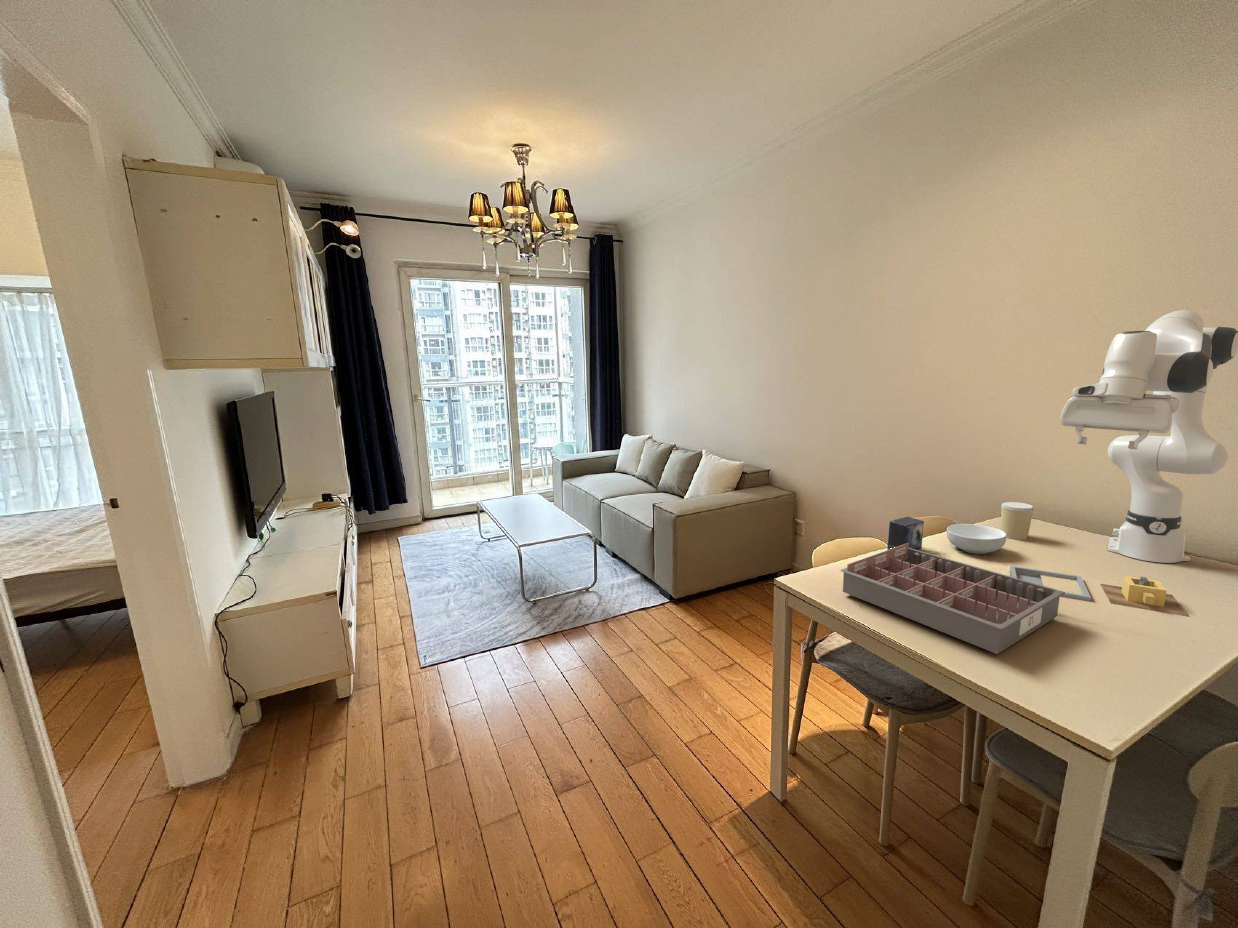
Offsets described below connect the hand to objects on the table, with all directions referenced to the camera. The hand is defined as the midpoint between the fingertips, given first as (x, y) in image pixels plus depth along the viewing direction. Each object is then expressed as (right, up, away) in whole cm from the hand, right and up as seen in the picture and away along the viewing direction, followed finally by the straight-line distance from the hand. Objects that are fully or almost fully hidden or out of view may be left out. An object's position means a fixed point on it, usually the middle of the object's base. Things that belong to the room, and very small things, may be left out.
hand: (1106, 446), depth 126 cm
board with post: (+14, -41, +5) cm, 44 cm away
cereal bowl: (0, -35, +46) cm, 58 cm away
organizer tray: (-37, -43, +8) cm, 57 cm away
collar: (+13, -40, +3) cm, 42 cm away
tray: (-2, -40, +16) cm, 43 cm away
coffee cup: (+23, -32, +58) cm, 70 cm away
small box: (-23, -35, +50) cm, 65 cm away
